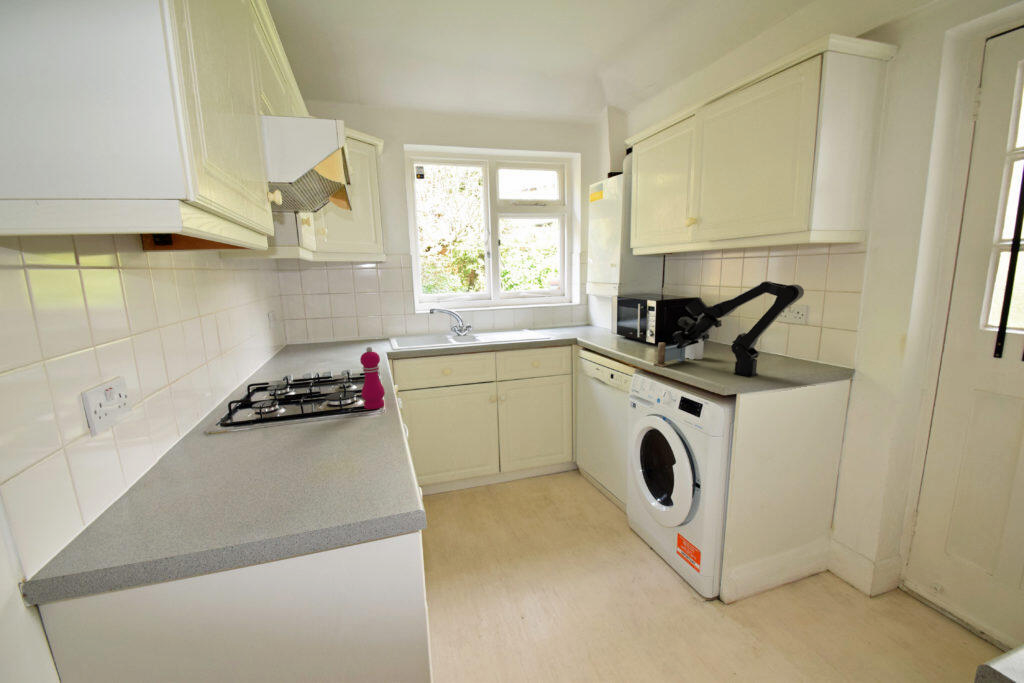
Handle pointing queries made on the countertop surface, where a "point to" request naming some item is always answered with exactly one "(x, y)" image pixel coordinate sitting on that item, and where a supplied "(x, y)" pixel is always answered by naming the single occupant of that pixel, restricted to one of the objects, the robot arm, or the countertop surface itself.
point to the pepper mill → (372, 381)
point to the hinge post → (661, 355)
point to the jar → (695, 350)
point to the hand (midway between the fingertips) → (678, 347)
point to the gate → (674, 353)
